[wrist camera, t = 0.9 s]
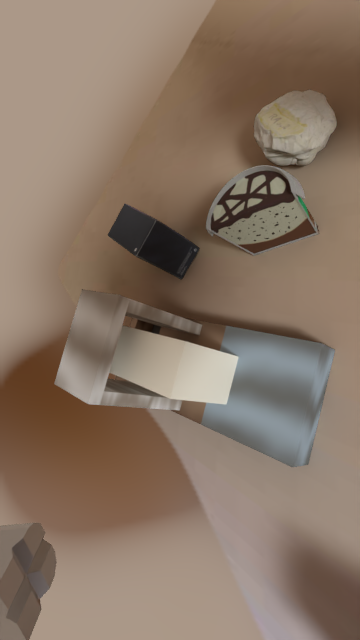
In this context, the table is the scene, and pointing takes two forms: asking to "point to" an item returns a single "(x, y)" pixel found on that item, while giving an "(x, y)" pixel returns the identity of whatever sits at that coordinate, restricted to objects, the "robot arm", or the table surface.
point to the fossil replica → (294, 127)
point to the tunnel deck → (247, 386)
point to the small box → (153, 241)
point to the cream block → (173, 366)
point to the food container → (261, 211)
